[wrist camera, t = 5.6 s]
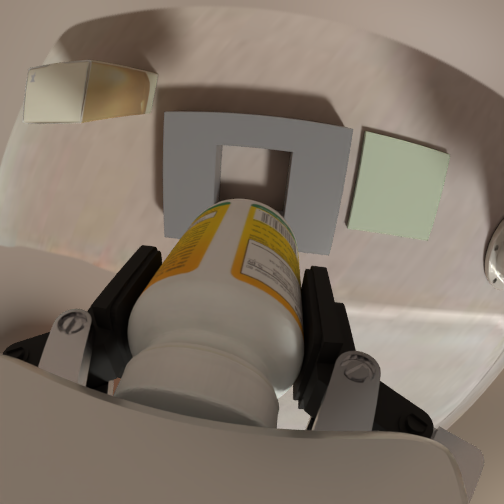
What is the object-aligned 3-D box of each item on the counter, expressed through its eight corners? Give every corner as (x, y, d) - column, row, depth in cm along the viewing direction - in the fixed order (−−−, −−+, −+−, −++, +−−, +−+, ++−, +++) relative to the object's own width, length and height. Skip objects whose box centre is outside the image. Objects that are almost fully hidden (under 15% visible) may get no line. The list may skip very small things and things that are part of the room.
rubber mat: (447, 154, 24) (450, 155, 24) (425, 238, 29) (427, 240, 28) (364, 130, 24) (366, 131, 24) (346, 226, 29) (347, 228, 28)
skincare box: (101, 110, 25) (18, 125, 14) (107, 71, 23) (24, 67, 12) (154, 114, 25) (80, 126, 14) (162, 72, 23) (90, 58, 12)
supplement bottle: (304, 202, 13) (342, 389, 4) (288, 299, 15) (287, 479, 7) (186, 191, 13) (53, 337, 4) (188, 287, 15) (119, 449, 7)
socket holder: (344, 126, 24) (353, 129, 22) (324, 241, 30) (329, 255, 27) (175, 111, 25) (164, 111, 22) (173, 225, 30) (164, 237, 28)
